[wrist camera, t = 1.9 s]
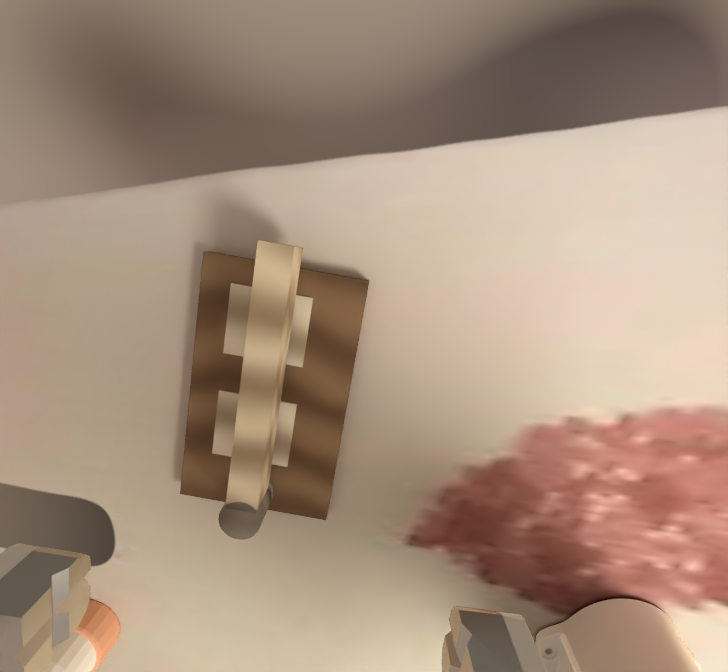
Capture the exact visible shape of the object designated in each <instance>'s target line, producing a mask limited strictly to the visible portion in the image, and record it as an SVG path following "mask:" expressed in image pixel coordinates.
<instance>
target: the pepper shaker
mask: <svg viewBox="0 0 728 672" xmlns="http://www.w3.org/2000/svg"><path fill="white" fill-rule="evenodd" d="M119 633H120V624H119V622H118V619H117V617H116V615H115V614H114V613H113V612H112V610H111V609H109V608H108V607H107V606H105V605H104V604H102V603H99V602H97V601H93V600H89V604H88V608H87V610H86V612H85V614H84V616H83V618H82V620H81V622H80V624H79V625H78V627H77V628H76V629H75V631H74V632H73V634H72V635H71V636H70V638H68V639H66V640H65V641H63V642H61V643H60V644H58V645H57V646H55V647H53V660H52V661H51V662H50V664H49V665H48V666H47V668H46V669H45V670H44V671H43V672H94V671H95V670H96V669H97V668H98V667H99V665H100V664H101V662H102V661H103V659H104V658H105V656H106V655H107V653H108V652H109V651H110V649H111V648H112V646H113V645H114V643H115V642H116V640H117V638H118V636H119Z"/></svg>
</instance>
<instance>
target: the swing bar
mask: <svg viewBox="0 0 728 672" xmlns="http://www.w3.org/2000/svg"><path fill="white" fill-rule="evenodd" d="M302 250H303V248H301V247H295V246H290V245H284V244H279V243H273V242H267V241H260V240H258V242H257V251H256V259H255V267H254V275H253V283H252V292H251V300H250V308H249V316H248V325H247V333H246V341H245V349H244V357H243V366H242V374H241V382H240V390H239V398H238V407H237V415H236V423H235V431H234V439H233V448H232V456H231V464H230V472H229V481H228V489H227V497H226V503H225V505H224V506H223V508H222V510H221V511H220V514H219V524H220V527H221V529H222V530H223V531H224V532H225V533H226V534H227V535H228V536H230V537H232V538H235V539H247V538H250V537H252V536H254V535H255V534H256V533H257V531H258V530H259V528H260V525H261V523H262V521H263V519H264V516H265V514H266V512H267V509H268V507H269V505H270V502H271V492H270V489H269V488H268V486H269V479H270V472H271V465H272V458H273V451H274V444H275V437H276V430H277V423H278V416H279V409H280V402H281V396H282V389H283V382H284V375H285V368H286V361H287V354H288V347H289V340H290V333H291V326H292V319H293V312H294V305H295V298H296V292H297V285H298V278H299V271H300V264H301V257H302Z"/></svg>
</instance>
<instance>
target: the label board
mask: <svg viewBox="0 0 728 672" xmlns="http://www.w3.org/2000/svg"><path fill="white" fill-rule="evenodd" d="M254 267H255V260H253V259H247V258H242V257H236V256H231V255H225V254H220V253H214V252H203V262H202V272H201V283H200V293H199V304H198V314H197V324H196V335H195V345H194V356H193V366H192V377H191V387H190V397H189V408H188V418H187V429H186V439H185V449H184V460H183V470H182V481H181V491H180V494H185V495H190V496H196V497H201V498H207V499H212V500H218V501H223V502H226V497H227V489H228V481H229V472H230V464H231V456H232V448H233V439H234V431H235V423H236V415H237V407H238V398H239V390H240V382H241V374H242V366H243V357H244V349H245V341H246V333H247V325H248V316H249V308H250V300H251V292H252V283H253V275H254ZM368 284H369V281H368V280H363V279H357V278H352V277H346V276H341V275H335V274H330V273H324V272H319V271H313V270H308V269H302V268H300V271H299V278H298V285H297V292H296V298H295V305H294V312H293V319H292V326H291V333H290V340H289V347H288V354H287V361H286V368H285V375H284V382H283V389H282V396H281V402H280V409H279V416H278V423H277V430H276V437H275V444H274V451H273V458H272V465H271V472H270V479H269V486H268V488H269V489H270V492H271V502H270V505H269V507H268V509H267V510H273V511H279V512H284V513H290V514H295V515H301V516H306V517H312V518H317V519H323V520H326V518H327V513H328V507H329V502H330V496H331V490H332V485H333V479H334V474H335V468H336V463H337V457H338V451H339V446H340V440H341V435H342V429H343V424H344V418H345V412H346V407H347V401H348V396H349V390H350V384H351V379H352V373H353V368H354V362H355V357H356V351H357V345H358V340H359V334H360V329H361V323H362V318H363V312H364V306H365V301H366V295H367V290H368Z"/></svg>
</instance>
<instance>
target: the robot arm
mask: <svg viewBox="0 0 728 672" xmlns="http://www.w3.org/2000/svg"><path fill="white" fill-rule="evenodd" d="M90 570H91V565H90V557H89V556H88V555H85V554H80V553H74V552H69V551H63V550H57V549H51V548H45V547H36V546H30V545H24V544H16V545H13V546H11V547H9V548H7V549H6V550H5V551H4V552H3V553H1V554H0V672H43V671H44V670H45V669H46V668H47V666H48V665H49V664H50V662H51V661H52V660H53V647H55V646H57V645H58V644H60V643H61V642H63V641H65V640H66V639H68V638H70V636H71V635H72V634H73V632H74V631H75V629H76V628H77V627H78V625H79V624H80V622H81V620H82V618H83V616H84V614H85V612H86V610H87V608H88V604H89V600H90V594H91V586H90V585H89V583H88V582H87V581H86V579H85V578H84V577H85V575H86V574H87V573H88V572H89V571H90ZM449 621H450V626H451V631H450V632H449V633H448V634H447V635H445V638H444V643H443V648H442V672H701V666H700V664H699V662H698V661H697V659H696V658H695V656H694V655H693V654H692V653H691V652H690V651H689V650H688V649H687V648H686V646H685V644H684V642H683V640H682V638H681V636H680V634H679V632H678V630H677V628H676V626H675V624H674V623H673V621H672V620H671V619H670V618H669V617H668V616H667V615H666V614H665V613H664V612H663V611H661V610H660V609H659V608H657V607H655V606H653V605H651V604H649V603H646V602H643V601H639V600H633V599H610V600H605V601H601V602H597V603H594V604H592V605H589V606H587V607H585V608H583V609H581V610H580V611H578V612H577V613H575V614H574V615H573V616H571V617H570V618H569V619H567V620H566V621H564V622H562V623H560V624H556V625H553V626H550V627H547V628H544V629H542V630H541V631H539V632H538V634H537V635H536V643H535V642H534V640H533V637H532V635H531V633H530V630H529V628H528V625H527V623H526V621H525V619H524V618H523V616H522V615H521V614H514V613H506V612H496V611H491V610H483V609H475V608H467V607H459V606H454V607H453V609H452V610H451V614H450V618H449Z"/></svg>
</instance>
